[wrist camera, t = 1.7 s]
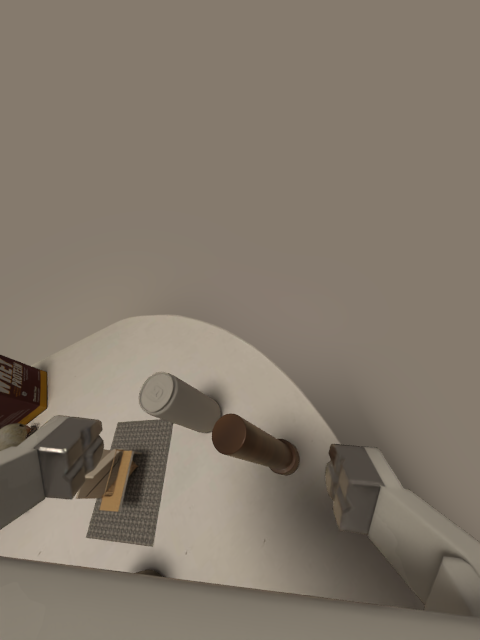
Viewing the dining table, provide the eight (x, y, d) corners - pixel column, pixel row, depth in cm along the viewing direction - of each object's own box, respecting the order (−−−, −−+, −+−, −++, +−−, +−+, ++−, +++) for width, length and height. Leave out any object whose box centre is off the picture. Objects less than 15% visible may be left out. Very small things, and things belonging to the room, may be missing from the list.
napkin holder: (150, 452, 38) (111, 445, 33) (138, 510, 35) (93, 513, 29) (132, 452, 40) (92, 445, 34) (119, 508, 36) (71, 511, 30)
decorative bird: (41, 419, 52) (0, 409, 46) (47, 497, 41) (-5, 498, 36) (20, 437, 51) (-24, 430, 46) (20, 522, 41) (-37, 526, 35)
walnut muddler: (305, 455, 30) (261, 428, 18) (287, 482, 30) (229, 473, 17) (281, 435, 33) (227, 398, 20) (264, 459, 32) (198, 437, 20)
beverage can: (205, 394, 40) (156, 364, 31) (228, 409, 37) (181, 381, 28) (187, 422, 39) (130, 400, 29) (209, 441, 36) (154, 422, 27)
